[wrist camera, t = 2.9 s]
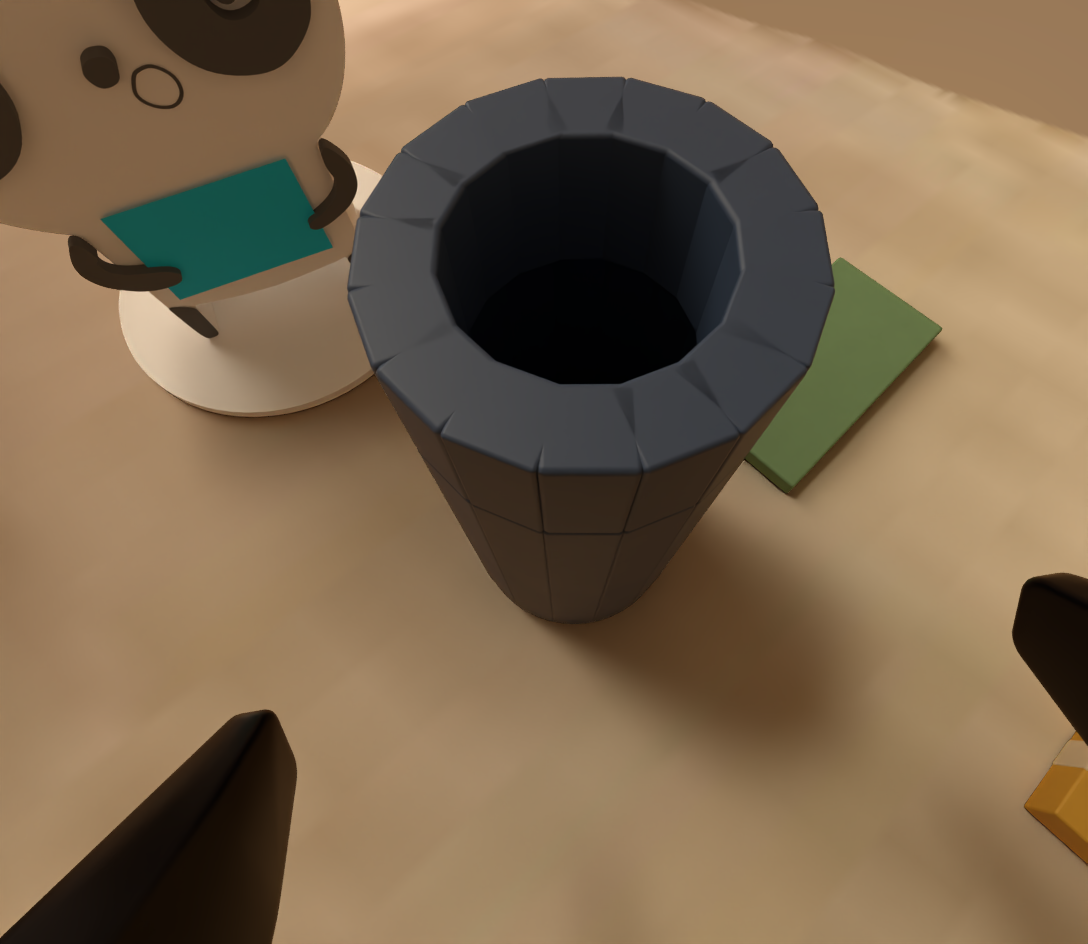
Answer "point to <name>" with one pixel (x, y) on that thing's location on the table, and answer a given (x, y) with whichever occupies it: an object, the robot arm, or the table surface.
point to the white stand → (195, 184)
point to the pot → (587, 322)
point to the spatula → (842, 374)
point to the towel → (1065, 797)
